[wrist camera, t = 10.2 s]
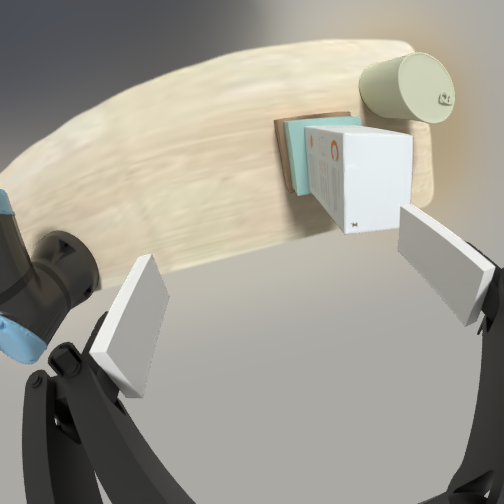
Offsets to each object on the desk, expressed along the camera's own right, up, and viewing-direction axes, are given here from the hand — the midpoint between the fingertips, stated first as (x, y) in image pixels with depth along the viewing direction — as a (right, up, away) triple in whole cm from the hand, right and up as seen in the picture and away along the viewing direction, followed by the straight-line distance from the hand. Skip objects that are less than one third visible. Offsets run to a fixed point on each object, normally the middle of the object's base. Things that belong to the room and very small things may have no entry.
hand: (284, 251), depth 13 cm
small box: (+8, +11, +17) cm, 22 cm away
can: (+18, +24, +19) cm, 36 cm away
